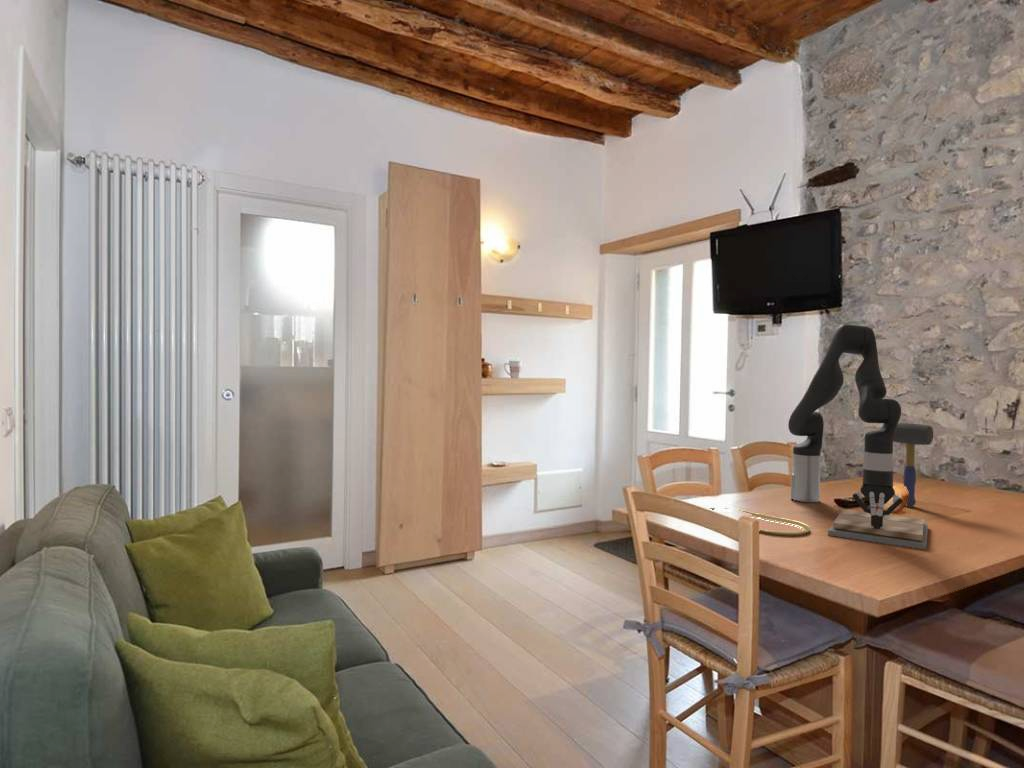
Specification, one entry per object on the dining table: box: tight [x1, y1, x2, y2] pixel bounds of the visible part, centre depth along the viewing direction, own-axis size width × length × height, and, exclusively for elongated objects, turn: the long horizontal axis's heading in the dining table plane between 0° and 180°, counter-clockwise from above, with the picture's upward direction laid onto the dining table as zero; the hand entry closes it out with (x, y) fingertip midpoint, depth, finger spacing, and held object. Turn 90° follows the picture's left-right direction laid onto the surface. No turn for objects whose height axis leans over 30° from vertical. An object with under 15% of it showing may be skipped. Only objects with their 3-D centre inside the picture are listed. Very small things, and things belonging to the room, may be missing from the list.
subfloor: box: [827, 511, 929, 551], centre depth 184 cm, size 24×28×3 cm
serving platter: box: [709, 507, 811, 537], centre depth 193 cm, size 19×35×2 cm, turn 42°
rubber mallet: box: [893, 422, 934, 508], centre depth 219 cm, size 12×8×30 cm, turn 39°
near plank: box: [832, 518, 923, 541], centre depth 178 cm, size 22×8×2 cm, turn 55°
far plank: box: [839, 508, 925, 528], centre depth 191 cm, size 22×8×2 cm, turn 55°
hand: (876, 528), depth 175 cm, fingers closed
